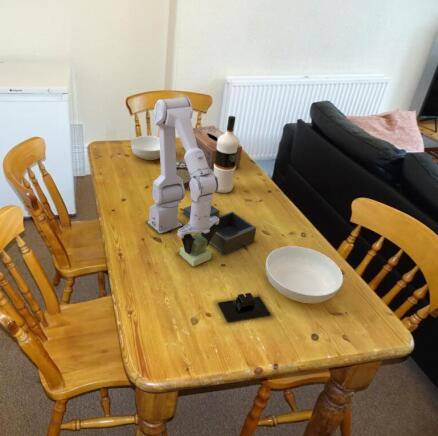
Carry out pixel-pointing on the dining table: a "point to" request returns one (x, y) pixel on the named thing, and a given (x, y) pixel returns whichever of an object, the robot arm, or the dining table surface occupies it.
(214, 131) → the tissue box cover
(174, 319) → the dining table surface
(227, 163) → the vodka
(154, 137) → the cereal bowl
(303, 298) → the serving bowl
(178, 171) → the food container
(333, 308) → the dining table surface
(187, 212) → the rotary dial base
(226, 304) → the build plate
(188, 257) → the mint block
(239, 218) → the black storage bin
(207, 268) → the dining table surface
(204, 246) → the cube
